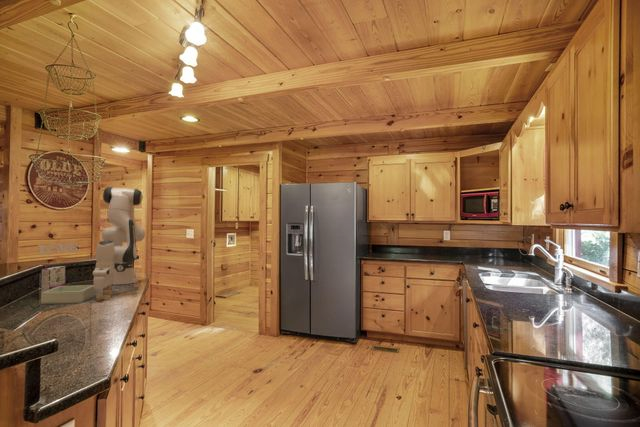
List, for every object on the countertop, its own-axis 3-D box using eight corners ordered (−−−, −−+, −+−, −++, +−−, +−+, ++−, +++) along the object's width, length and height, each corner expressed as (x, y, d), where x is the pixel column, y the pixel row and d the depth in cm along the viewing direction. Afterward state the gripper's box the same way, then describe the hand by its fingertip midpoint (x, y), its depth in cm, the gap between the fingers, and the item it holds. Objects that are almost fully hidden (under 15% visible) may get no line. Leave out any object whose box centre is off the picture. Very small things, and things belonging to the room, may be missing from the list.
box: (58, 296, 184) (58, 286, 185) (95, 295, 189) (95, 284, 189) (40, 304, 167) (41, 292, 167) (81, 302, 172) (82, 291, 172)
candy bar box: (56, 294, 190) (57, 266, 191) (65, 294, 190) (66, 266, 191) (40, 299, 179) (41, 268, 180) (49, 299, 179) (50, 268, 179)
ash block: (99, 297, 185) (99, 288, 185) (111, 297, 186) (111, 288, 186) (96, 299, 180) (96, 290, 180) (108, 298, 182) (109, 289, 182)
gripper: (105, 267, 193) (104, 291, 193) (91, 272, 173) (90, 299, 173) (117, 267, 195) (116, 290, 194) (104, 272, 175) (104, 298, 175)
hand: (104, 295), depth 183 cm, fingers open, 8 cm apart
